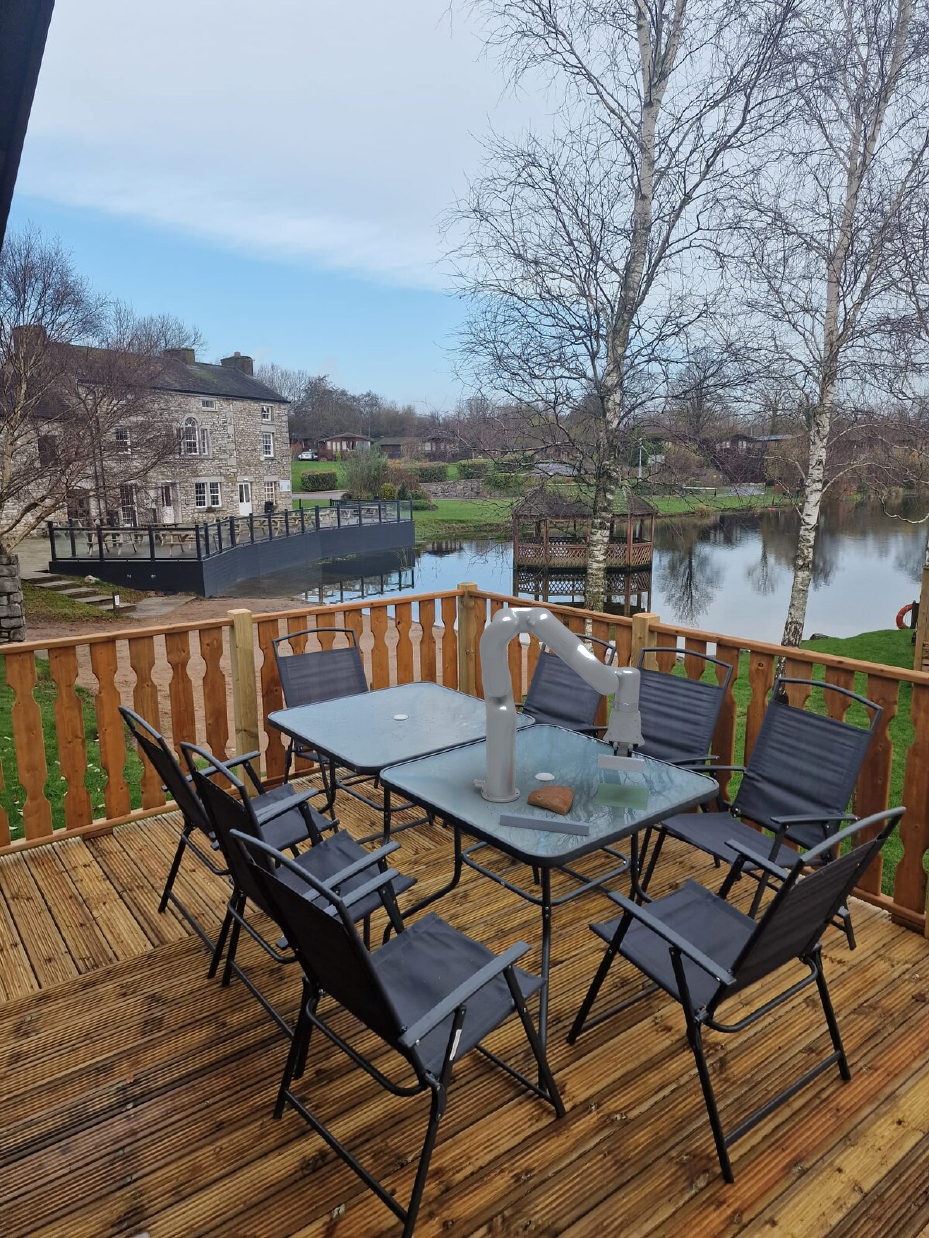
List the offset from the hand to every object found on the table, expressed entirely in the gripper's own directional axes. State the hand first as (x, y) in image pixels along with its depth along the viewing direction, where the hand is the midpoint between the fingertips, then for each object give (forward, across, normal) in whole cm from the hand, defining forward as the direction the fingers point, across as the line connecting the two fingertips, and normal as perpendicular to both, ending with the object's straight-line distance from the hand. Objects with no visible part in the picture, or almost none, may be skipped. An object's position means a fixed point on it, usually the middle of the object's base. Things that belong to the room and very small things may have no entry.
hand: (622, 760), depth 243 cm
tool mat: (+12, +1, -1) cm, 12 cm away
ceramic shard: (+13, -18, -12) cm, 25 cm away
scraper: (0, 0, 0) cm, 0 cm away
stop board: (+13, -19, -31) cm, 38 cm away
